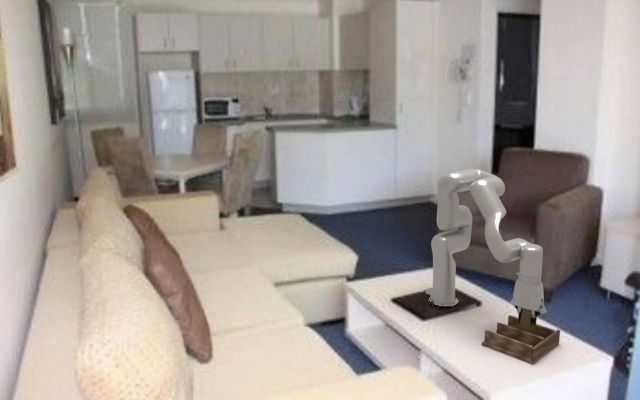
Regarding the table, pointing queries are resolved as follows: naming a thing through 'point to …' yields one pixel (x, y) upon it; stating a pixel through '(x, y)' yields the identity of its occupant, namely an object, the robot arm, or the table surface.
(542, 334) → the slot rack
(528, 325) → the cork
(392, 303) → the table surface
